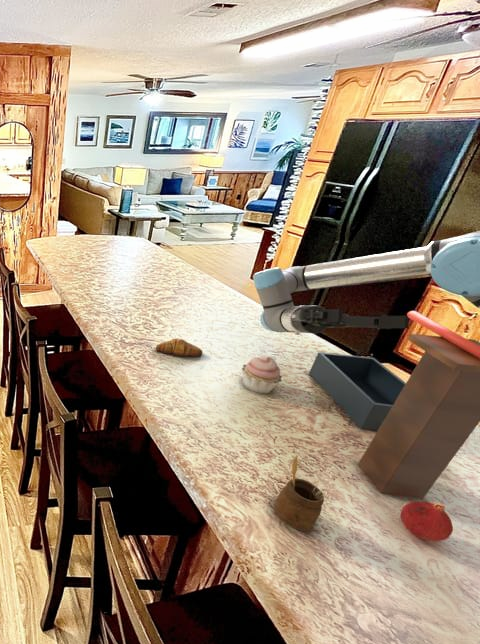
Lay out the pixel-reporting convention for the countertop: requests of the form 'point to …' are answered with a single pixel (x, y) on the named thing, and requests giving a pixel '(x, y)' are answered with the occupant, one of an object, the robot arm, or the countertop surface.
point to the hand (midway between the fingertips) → (373, 318)
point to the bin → (358, 386)
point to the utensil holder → (299, 502)
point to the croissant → (179, 348)
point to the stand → (426, 420)
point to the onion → (427, 520)
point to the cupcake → (261, 374)
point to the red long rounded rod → (445, 333)
